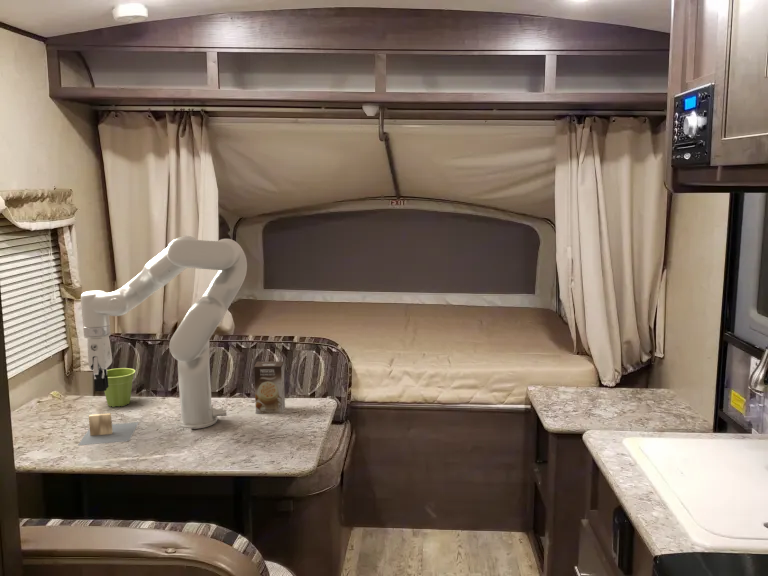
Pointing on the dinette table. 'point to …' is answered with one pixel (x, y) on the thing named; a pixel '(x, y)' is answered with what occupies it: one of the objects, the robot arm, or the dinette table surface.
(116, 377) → the plant pot
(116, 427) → the mat
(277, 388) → the coffee box
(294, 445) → the dinette table surface
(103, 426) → the tile
